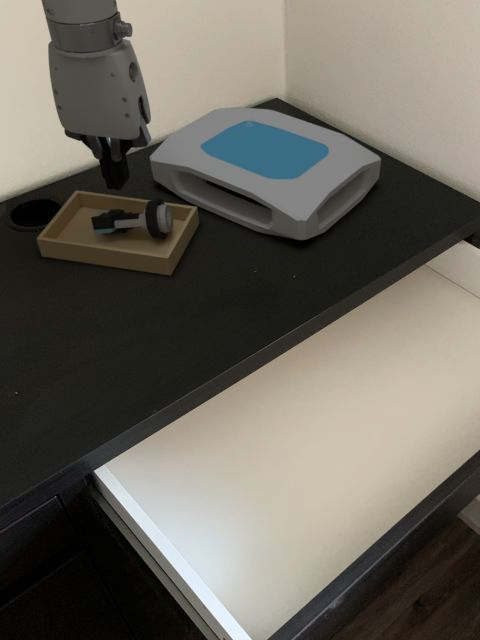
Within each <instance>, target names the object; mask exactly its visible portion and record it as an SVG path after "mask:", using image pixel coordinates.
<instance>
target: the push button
mask: <svg viewBox="0 0 480 640" xmlns="http://www.w3.org/2000/svg"><path fill="white" fill-rule="evenodd" d="M105 212H106V213H105ZM96 213H102V214H101V215H99V216H94V217H91V221H92V225H93V229H94V233H95V234H99V233H102V235H104V234H115V233H126V232H127V231H128V230H131V229H133V228H142V227H145V228H146V230H147V232H148V233H149V234H150V235H151V236H152V238H160V239H166V237H167V235H168V232H172V230H173V214H172V211H171V208H170V206H169V205H165V204H164V201H163V199H162V198H161V197H160V198H159V197H158V198H155V199H154V200H151V201H148V203H147V205H146V206H145V209H144V214H141V213H132V212H128V213H125V212H124V210H120V209H111V210H108V211H107V210H105V211H98V212H96Z"/></svg>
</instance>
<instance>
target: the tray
mask: <svg viewBox="0 0 480 640" xmlns="http://www.w3.org/2000/svg"><path fill="white" fill-rule="evenodd" d="M148 201H152V200H149V199H143V198H135V197H130V196H129V197H127V196H121V195H115V194H114V195H113V194H106V193H98V192H91V191H84V190H76V189H75V190H74V191H73V193H72V195H71V196H70V197H69V198H68V199H67V201H66V202H65V203H64V204H63V206H61V208H60V209H59V211H57V213H56V214H55V215H54V216H53V218H52V219H51V220H50V222H48V223H47V225H46V226H45V228H44V229H43V230H42V231H41V232H40V234H39V235H38V236H37V237H36V239H35V240H36V243H37V246H38V249H39V252H40V254H41V257H44V258H51V259H58V260H64V261H71V262H77V263H83V264H90V265H97V266H103V267H104V266H105V267H109V268H118V269H124V270H130V271H136V272H144V273H151V274H157V275H165V276H170V277H171V276H172V274H173V273H174V271H175V269H176V267H177V265H178V264H179V262H180V260H181V258H182V256H183V255H184V252H185V251H186V249H187V247H188V245H189V244H190V242H191V240H192V238H193V236H194V234H195V233H196V232H197V231H196V230H197V229H198V227H199V226H200V218H199V217H200V216H199V209H198V206H196V205H189V204H188V205H187V204H179V203H173V202H164V201H163V202H164V204H165V205H169V206H170V208H171V211H172V214H173V230H172V232H168V235H167V237H166V239H160V238H152V236H151V235H150V234H149V233H148V232H147V230H146V228H145V227H142V228H133V229H131V230H128V231H127V232H126V233H115V234H104V235H102V233H99V234H95V233H94V229H93V225H92V221H91V217H94V216H99V215H101V214H102V213H96V212H98V211H105V210H107V211H108V210H111V209H120V210H124V212H125V213H128V212H132V213H141V214H144V209H145V206H146V205H147V203H148ZM105 213H106V212H105Z"/></svg>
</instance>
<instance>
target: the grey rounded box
mask: <svg viewBox="0 0 480 640" xmlns="http://www.w3.org/2000/svg"><path fill="white" fill-rule="evenodd" d="M149 161H150V162H149V163H150V168H151V173H152V174H151V175H152V177H153V180H154V181H156V182H157V183H159V184H161V185H162V186H163V187H165V188H166V189H167V190H168V191H170V192H172V193H174V194H175V195H176V196H178V197H180V198H181V199H183V200H184V201H185V202H188V203H190V204H192V205H193V206H196V207H199V208H201V209H204V210H206V211H208V212H211V213H213V214H216V215H217V216H219V217H221V218H225V219H227V220H229V221H232V222H234V223H236V224H239V225H241V226H243V227H245V228H248V229H249V230H252V231H254V232H257V233H261V234H266V235H271V236H277V237H281V238H287V239H292V240H297V241H306V240H309V239H311V238H314V237H317V236H319V235H321V234H323V233H326V232H327V231H328V230H329V229H330V228H331V227H333V226H334V225H335V224H336V223H337V222H339V221H340V220H341V219H342V218H343V217H344V216H345V215H346V214H348V213H349V212H350V211H351V210H352V209H353V208H355V207H356V206H357V205H358V204H359V203H361V202H362V201H363V200H364V198H365V197H366V196H367V194H368V193H369V192H370V191H371V189H372V188H373V186H374V185H375V184H376V183H377V181H378V180H379V179H380V173H381V164H382V159H381V157H380V156H379V155H378V154H376V153H375V152H373V151H372V150H370V149H369V148H367V147H365V146H363V145H361V144H360V143H359V142H356V140H353V139H352V138H350V137H348V136H347V135H345V134H343V133H340V132H338V131H335V130H331V129H329V128H325V127H323V126H321V125H319V124H318V125H317V124H314V123H312V122H308V121H306V120H303V119H299V118H297V117H294V116H292V115H288V114H285V113H282V112H280V111H277V110H273V109H267V108H255V107H252V108H251V107H239V106H237V107H236V106H235V107H222V108H221V107H220V108H216V109H213V110H211V111H209V112H208V113H206V114H204V115H203V116H201V117H199V118H197V119H195V120H193V121H192V122H190V123H188V124H187V125H184V126H183V127H182V128H180V129H177V130H176V131H175V132H173V133H171V134H170V135H168V137H166V139H165V140H163V142H162V143H161V144H160V145H159V146H158V147H157V148H156V149H155V150H154V151H153V152H152V153H151V154H150V155H149ZM207 182H210V183H213V184H216V185H218V186H220V187H223V188H225V189H228V190H230V191H233V192H235V193H237V194H240V195H242V196H245V197H247V198H250V199H252V200H254V201H255V202H257V203H259V204H261V205H259V204H256V203H253V202H250V201H248V200H245V199H243V198H241V197H238V196H235V195H233V194H231V193H228V192H226V191H224V190H222V189H220V188H218V187H215V186H213V185H211V184H208V183H207Z"/></svg>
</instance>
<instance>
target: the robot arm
mask: <svg viewBox="0 0 480 640" xmlns="http://www.w3.org/2000/svg"><path fill="white" fill-rule="evenodd" d="M40 1H41V4H42V8H43V12H44V17H45V20H46V24H47V28H48V32H49V38H50V41H49V42H48V45H47V54H48V55H47V56H48V69H49V78H50V79H49V80H50V85H51V91H52V96H53V100H54V105H55V109H56V114H57V117H58V120H59V122H60V124H61V126H62V128H63V129H64V135H65V136H66V137H68V138H69V139H73V140H75V141H79V142H81V143H82V144H83V145H84V146H86V147H87V148H88V149H89V150H90V151H91V154H92V156H93V157H94V159H96V160H98V163H99V167H100V171H101V175H102V179H103V180H104V181H105V185H106V186H105V187H106V189H107V190H110V191H111V190H115V191H119V192H120V191H121V190H122V189H123V188H124V186H125V185H126V183H127V182H128V181H129V180H130V168H129V164H128V159H127V158H128V157H127V153H128V152H129V151H130V150H131V149H139V148H146V147H148V145H150V143H151V141H152V136H151V134H150V133H151V132H149V131H150V130H149V129H148V126H147V125H149V124H150V123H151V121H152V115H151V114H152V113H151V108H150V101H149V97H148V93H147V89H146V85H145V80H144V77H143V73H142V70H141V66H140V63H139V60H138V57H137V55H136V52H135V50H134V46H133V44H132V42H131V41H130V40H129V39H126V38H132V37H133V33H134V32H133V30H134V29H133V25H132V23H130V22H125V21H124V20H122V17H121V16H122V15H121V12H120V11H119V9H118V3H117V0H40Z"/></svg>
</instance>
